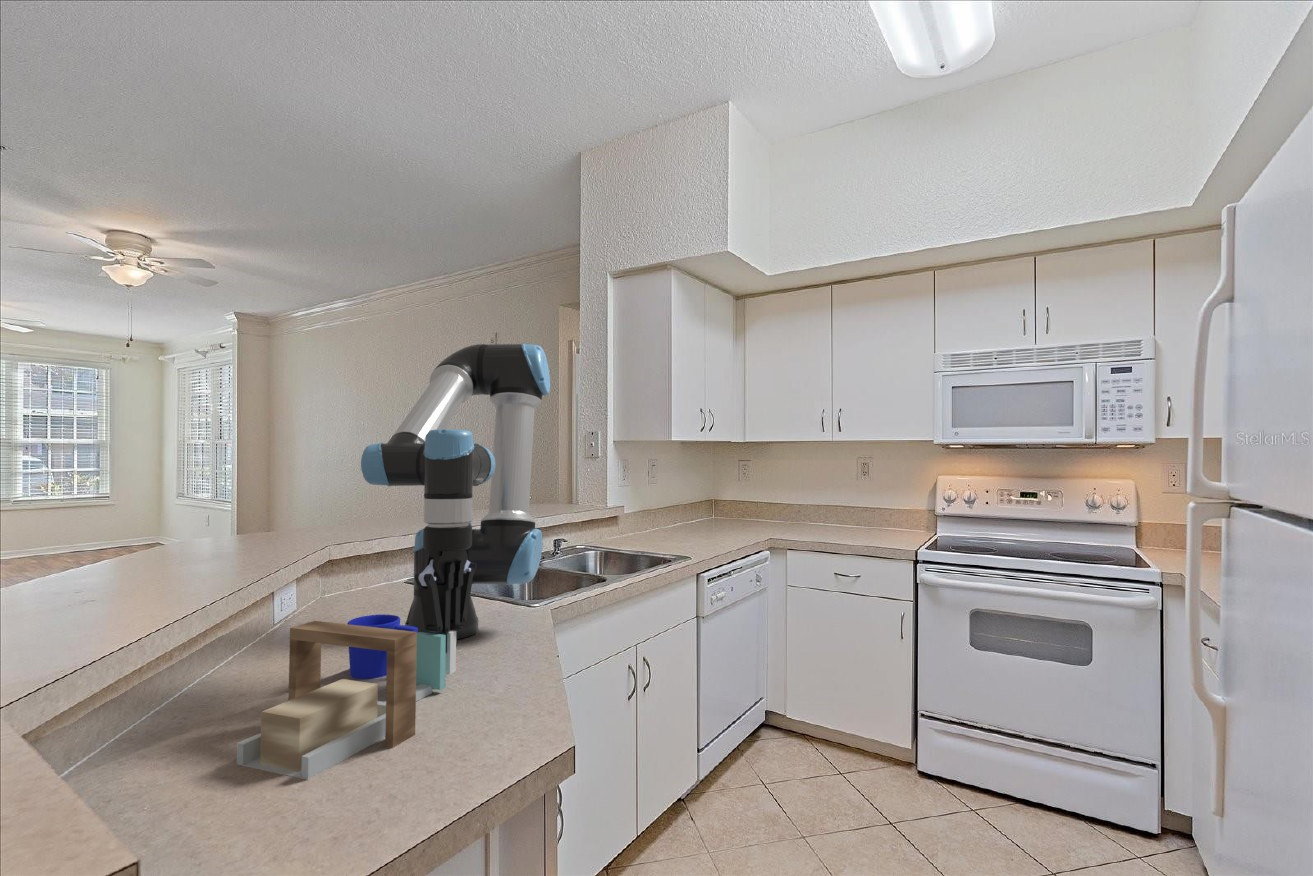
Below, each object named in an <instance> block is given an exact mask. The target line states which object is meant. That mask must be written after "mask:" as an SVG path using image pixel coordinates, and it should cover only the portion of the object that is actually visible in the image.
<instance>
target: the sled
mask: <svg viewBox="0 0 1313 876" xmlns="http://www.w3.org/2000/svg"><path fill="white" fill-rule="evenodd" d="M445 654H446V635H442V634H433V633H424V632H418V633H417V654H416V702H417V701H420V700H421V699H424V698H426V697H428V696H429V695H431V694H433V690H439V691H440V690H443V689H445V688H446V674H445ZM385 735H386V700H384V701H380V700H378V701H377V718H376V719H374V720H372V721H370V722H368V723H366V724H364V725H362V726H360V727H358V728H356V729H354V730H352V731H350V732H348V733H346V734H344V735H343V736H341V737H339V738H337V739H335V740H333V741H331V742H329V743H327V744H325V745H323V746H321V747H319V748H317V749H315V750H313V751H311V752H309V753H307V754H305V755H303V756H302V767H301V771H299V772H297V771H293V770H288V769H284V768H279V767H274V766H270V765H265V764H260V749H261V732H259V733H257V734H254V735H252V736H250V737H248V738H246V739H244V740H241V741H239V742H237V743H236V765H238V766H243V767H247V768H251V769H256V770H260V771H265V772H270V773H275V774H279V775H284V776H287V777H288V776H289V777H292V778H293V777H294V778H298V779H302V780H307V781H309V780H311V779H313V778H314V777H316V776H318V775H320V774H323V772H325V771H327V770H328V769H330V768H332V767H334V766H336V765H338V764H339V763H341V762H342V761H345V760H347V759H348V758H350V757H352V756H354V755H356V754H357V753H360V752H361V751H363V750H364V749H366V748H368V747H370V746H372V745H373V744H375V743H377V742H380V741H381V740H383V739H384V738H385Z"/></svg>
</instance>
